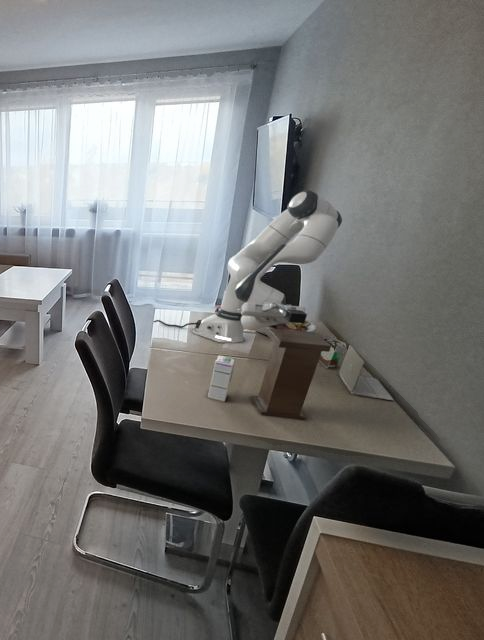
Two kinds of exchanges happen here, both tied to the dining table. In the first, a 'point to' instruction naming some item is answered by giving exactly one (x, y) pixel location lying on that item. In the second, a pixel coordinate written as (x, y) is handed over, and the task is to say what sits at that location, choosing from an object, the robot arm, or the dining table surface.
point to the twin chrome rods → (292, 314)
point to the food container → (332, 353)
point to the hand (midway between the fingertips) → (281, 306)
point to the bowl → (291, 327)
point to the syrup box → (221, 378)
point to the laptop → (360, 377)
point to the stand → (289, 372)
